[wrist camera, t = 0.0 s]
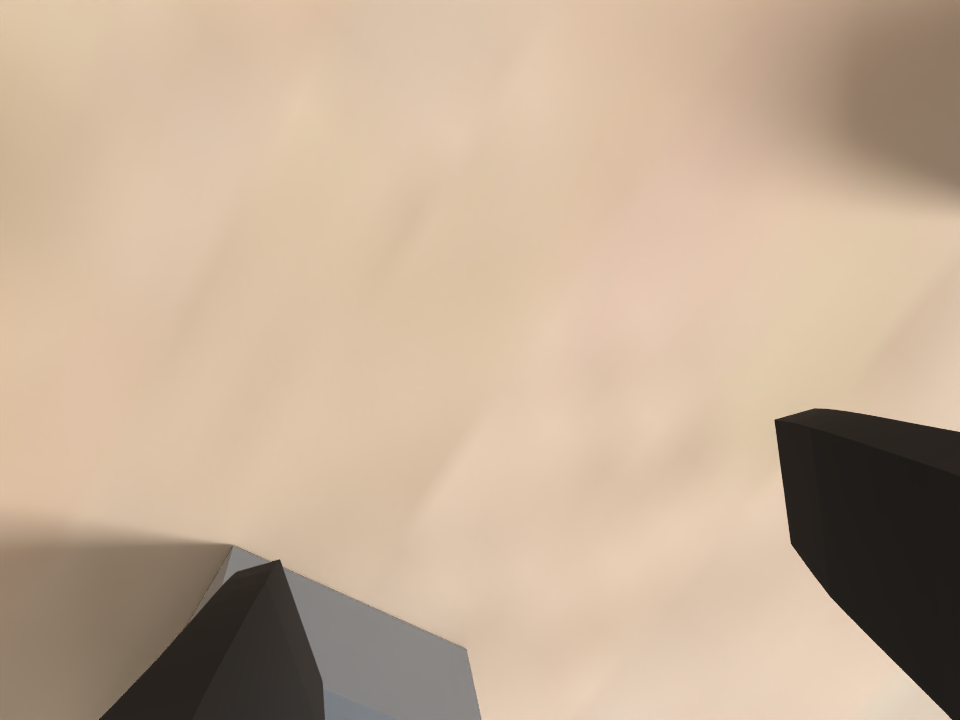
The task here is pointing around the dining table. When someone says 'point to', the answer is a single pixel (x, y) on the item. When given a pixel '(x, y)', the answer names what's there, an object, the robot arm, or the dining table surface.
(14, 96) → the dining table surface
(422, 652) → the grey square socket
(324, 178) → the dining table surface
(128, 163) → the dining table surface
